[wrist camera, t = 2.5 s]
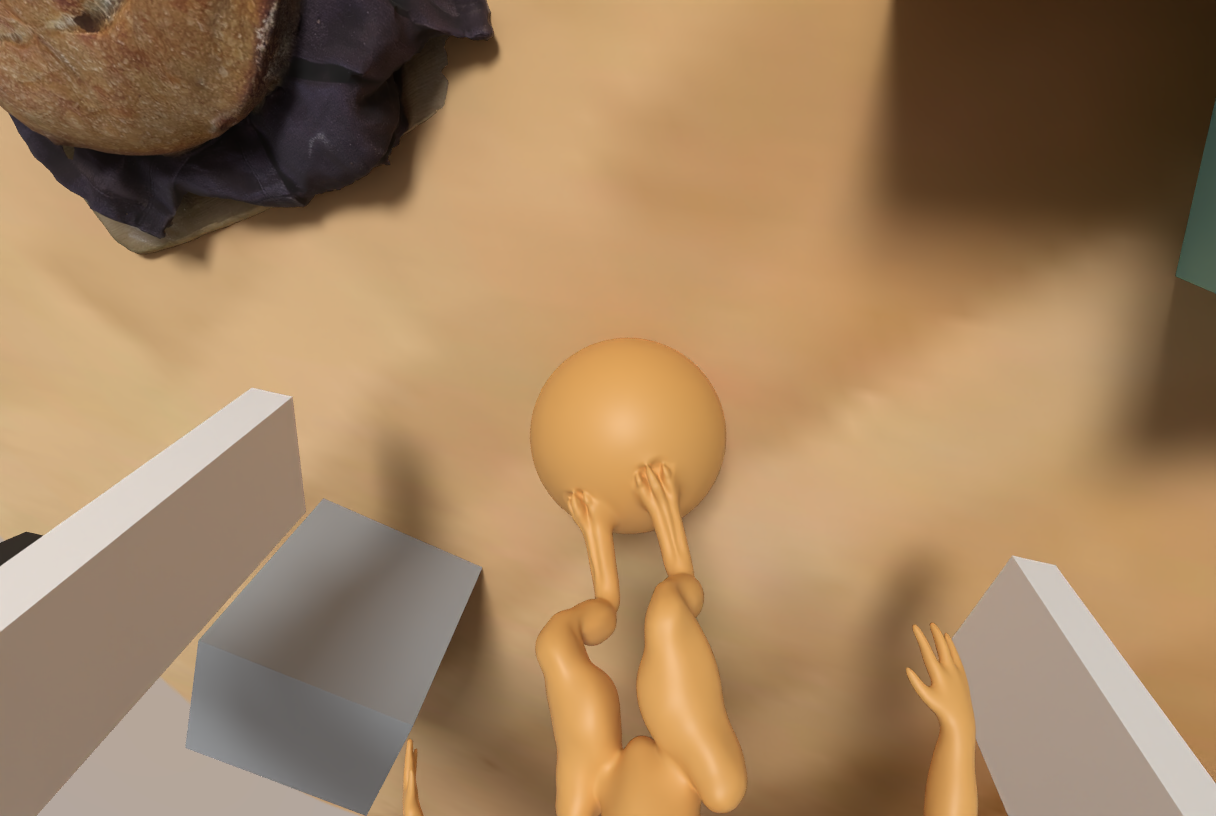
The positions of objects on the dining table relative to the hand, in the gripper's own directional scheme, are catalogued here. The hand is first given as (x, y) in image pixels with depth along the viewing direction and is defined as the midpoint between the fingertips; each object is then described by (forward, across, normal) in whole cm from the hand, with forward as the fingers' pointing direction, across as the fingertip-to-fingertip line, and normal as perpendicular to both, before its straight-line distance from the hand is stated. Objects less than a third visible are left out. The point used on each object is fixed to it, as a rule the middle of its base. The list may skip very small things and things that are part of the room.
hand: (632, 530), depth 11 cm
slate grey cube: (+4, -7, -8) cm, 11 cm away
